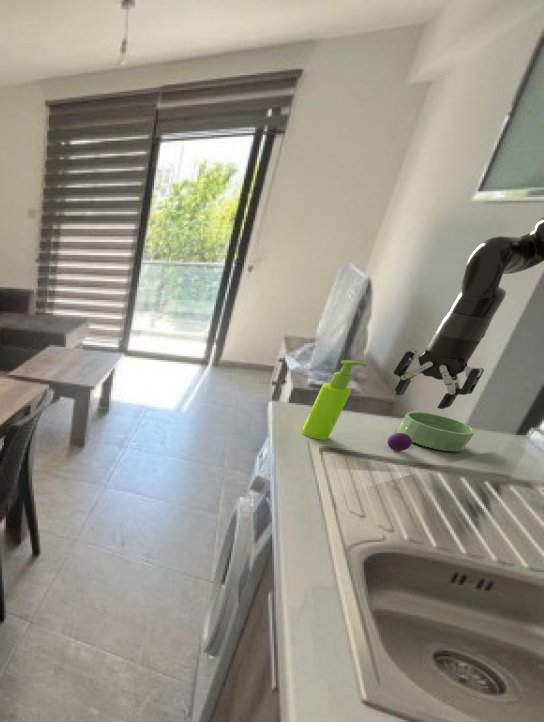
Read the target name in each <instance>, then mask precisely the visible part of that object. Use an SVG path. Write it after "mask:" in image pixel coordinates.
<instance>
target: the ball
mask: <svg viewBox="0 0 544 722" xmlns="http://www.w3.org/2000/svg"><path fill="white" fill-rule="evenodd" d="M412 444H413V442H412V440H411V438H410V436H408V435H407V434H404V433H398V432H396V433H393V434H391V435H390V436H388V438H387V445H388V447H389V448H390V449H392V450H394V451H398V452H399V451H405V450H408V449H409V448H410V447H411V446H412Z"/></svg>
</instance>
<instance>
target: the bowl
mask: <svg viewBox="0 0 544 722" xmlns="http://www.w3.org/2000/svg"><path fill="white" fill-rule="evenodd" d="M475 432H476V430H475V429H474V428H473V427H472V426H470V425H468V424H467V423H464V422H462V421H460V420H457V419H454V418H452V417H451V418H450V417H448V416H443V415H440V414H435V413H430V412H423V411H408V412H407V413H406V414H405V415H404V417H403V419H402V421H401V422H400V424H399V426H398V427H397V429H396V433H404V434H407V435H408V436H410V438H411V440H412V444H415V443H416V444H415V445H418V444H419V445H418V446H421V445H422V446H421V447H424V446H425V447H424V448H427V447H429V448H428V449H431V448H433V449H432V450H435V449H436V451H441V450H442V452H461V451H464V449H465V448H466V446H467V445H468V444H469V442H470V440H471V439H472V438H473V436H474V434H475Z"/></svg>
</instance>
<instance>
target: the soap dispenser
mask: <svg viewBox="0 0 544 722" xmlns="http://www.w3.org/2000/svg"><path fill="white" fill-rule="evenodd" d="M340 364H342V367H341V369H340V371H336V372H334V374H333V376H332V378H331V381H330V382H329V383H323V384H322V385H321V388H320V390H319V393H318V395H317V396H316V398H315V401H314V403H313V405H312V407H311V409H310V410H309V413H308V415H307V418H306V419H305V422H304V424H303V427H302V428H301V434H303V435H304V436H306V437H308V438H311V439H315V440H321V441H326V440H328V439H329V438H330V435H331V434H332V431H333V430H334V427H335V425H336V423H337V421H338V419H339V417H340V415H341V413H342V411H343V409H344V408H345V406H346V403H347V401H348V399H349V397H350V395H351V393H352V390H351V389H350V388H348V385H349V383H350V381H351V379H352V375H351V374H350V372H351V369H352V368H353V366H362V367H368V364H366V363H364V362H363V361H359V360H354V359H353V360H352V359H344V360H343V359H342V360H340Z"/></svg>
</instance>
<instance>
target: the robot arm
mask: <svg viewBox="0 0 544 722" xmlns="http://www.w3.org/2000/svg"><path fill="white" fill-rule="evenodd" d="M543 262H544V216H543V217H542V218H540V219H539V220H538V221H537V222H536V223H535V226H534V229H533V230H531V231H530V232H528V233H526V234H524V235H521V236H504V235H503V236H502V235H501V236H494V237H490V238H489V239H486V240H484V241H483V242H481V243H480V244H479V245H477V247H476V248H475V249H474V250H473V252H472V253H470V256H469V257H468V259H467V262H466V265H465V268H464V272H463V276H462V280H461V284H460V285H461V286H460V291H459V293H458V295H457V296H456V298H455V299H454V301H453V303H452V305H451V307H450V309H449V311H448V312H447V314H445V316H444V317H443V318H442V320H441V322H440V324H439V326H438V327H437V329H436V331H435V332H434V334H433V336H432V338H431V339H430V341H429V343H428V345H427V347H426V348H425V351H424V352H423V353H418V351H417V350H408V351H406V352H405V353H404V355H402V358H401V359H400V361H399V363H398V364H397V366H396V368H395V369H394V370H393V375H395V376H397V377H399V381H398V383H397V385H396V387H395V388H394V391H395V395H397V396H403V395H404V394H405V392H406V391H407V389H408V388H409V386H410V384H411V382H412V379H414V378H415V377H417V376H421V375H423V376H425V377H430V378H434V379H435V380H439V381H442V380H443V384H444V385H445V386H446V389H447V393H445V394H444V395H443V397H442V399H441V401H440V402H439V404H438V406H437V409H440V410H445V409H447V408H450V407H451V406H452V405H453V403H454V401H455V400H456V398H457V397H458V396H459V395H461V396H465V395H471V394H472V393H473V392H474V390H475V388H476V386H477V385H478V383H479V382H480V379H481V377H482V375H483V374H484V372H485V369H484V368H483V367H473V366H468V362H469V360H470V359H471V357H472V356H473V354H474V352H475V351H476V349H477V347H478V345H479V344H480V343H481V341H482V339H483V338H484V337H485V336H486V332H487V331H488V329H489V327H490V325H491V323H492V320H493V319H494V316H495V314H496V313H497V312H498V310H499V308H500V307H501V305H502V303H503V302H504V300H505V299H506V296H507V291H506V290H505V288H503V287H500V283H501V280H502V277H503V275H511V274H517V273H520V272H523V271H526V270H529V269H531V268H534V267H535V266H537V265H539V264H541V263H543ZM417 360H418V364H419V366H418V367H415V368H413V369H412V370H411V369H410V371H408V372H407V370H408V369H409V367H410V366H411V364H412V362H415V361H417ZM463 372H465V377H466V379H465V381H464V383H463V384H462V387H461V385H460V381H461V380H460V378H459V374H461V373H463Z"/></svg>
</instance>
